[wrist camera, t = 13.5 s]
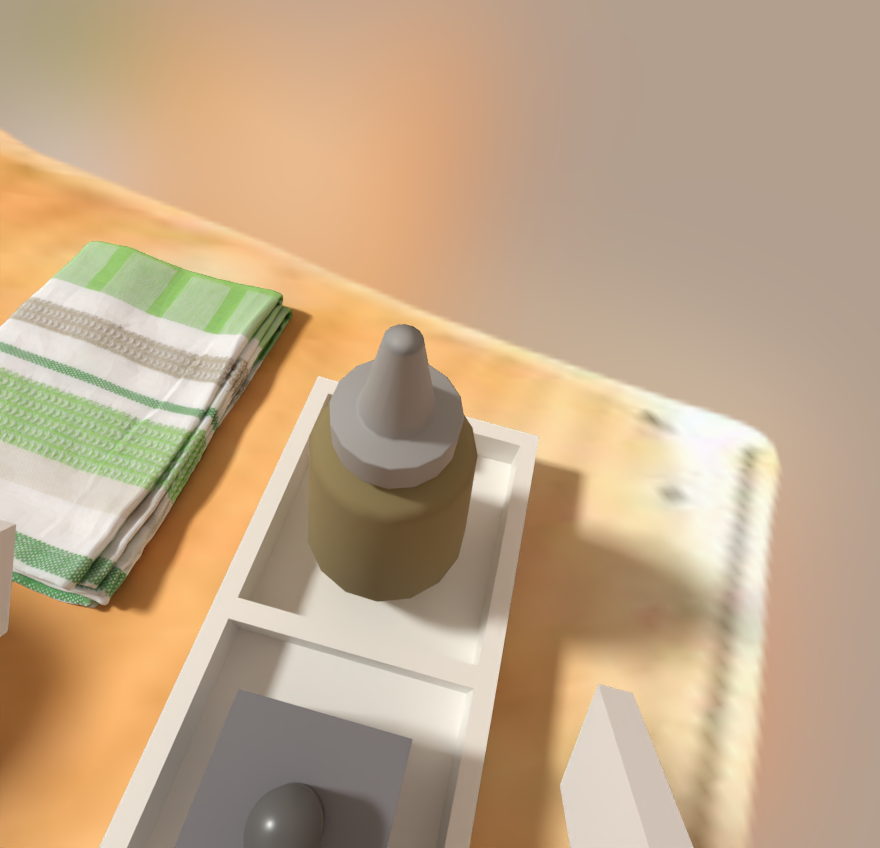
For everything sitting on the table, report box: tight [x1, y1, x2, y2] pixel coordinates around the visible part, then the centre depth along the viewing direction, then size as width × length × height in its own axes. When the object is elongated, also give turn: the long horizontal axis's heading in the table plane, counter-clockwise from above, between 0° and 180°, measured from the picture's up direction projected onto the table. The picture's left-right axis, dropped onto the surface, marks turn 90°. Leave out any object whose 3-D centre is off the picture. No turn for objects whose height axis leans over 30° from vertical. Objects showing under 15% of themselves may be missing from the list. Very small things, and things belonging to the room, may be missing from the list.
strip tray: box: [99, 376, 539, 848], centre depth 27 cm, size 14×28×4 cm, turn 166°
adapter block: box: [174, 689, 412, 848], centre depth 21 cm, size 7×7×8 cm
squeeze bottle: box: [308, 324, 478, 602], centre depth 23 cm, size 8×8×18 cm
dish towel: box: [0, 241, 292, 608], centre depth 33 cm, size 17×23×4 cm
